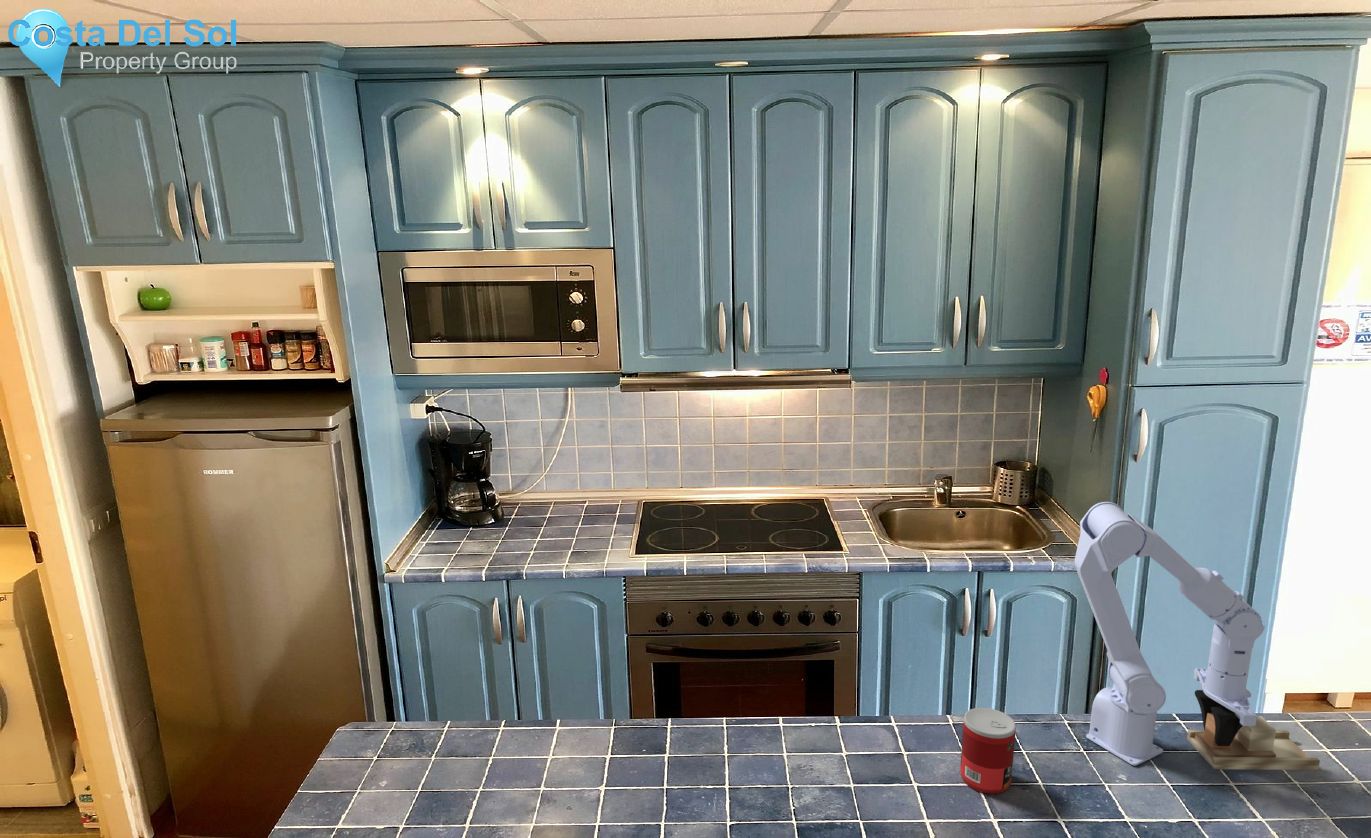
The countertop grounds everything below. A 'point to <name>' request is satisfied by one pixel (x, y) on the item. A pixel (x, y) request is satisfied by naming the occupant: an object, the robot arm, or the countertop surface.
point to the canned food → (987, 750)
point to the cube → (1257, 736)
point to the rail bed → (1285, 758)
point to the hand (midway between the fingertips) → (1217, 738)
